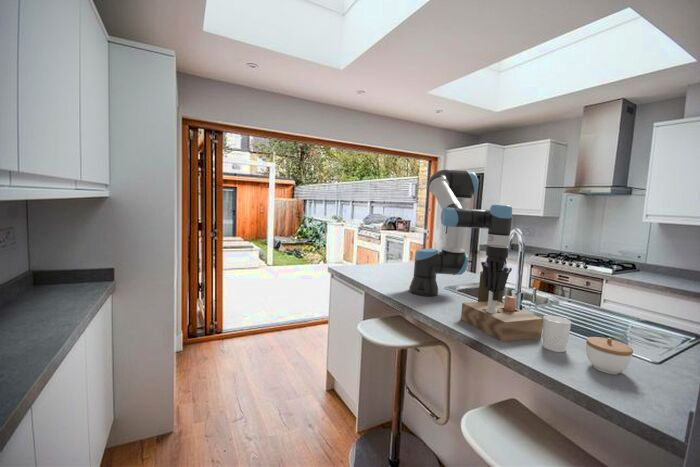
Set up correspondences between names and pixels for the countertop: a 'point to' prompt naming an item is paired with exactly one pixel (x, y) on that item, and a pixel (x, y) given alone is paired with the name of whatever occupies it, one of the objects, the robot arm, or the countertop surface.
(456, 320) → the countertop surface
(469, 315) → the walnut block
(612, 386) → the countertop surface
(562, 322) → the white cup
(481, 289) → the canister
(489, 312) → the white glossy ovoid
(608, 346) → the lidded jar
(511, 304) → the terracotta plug
